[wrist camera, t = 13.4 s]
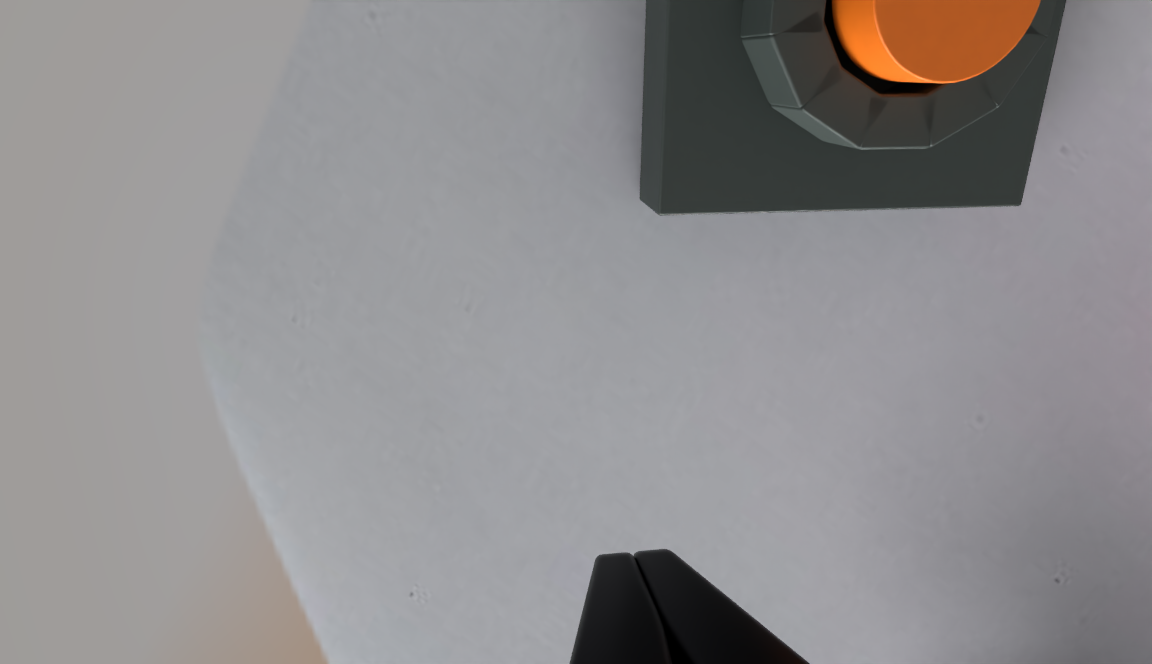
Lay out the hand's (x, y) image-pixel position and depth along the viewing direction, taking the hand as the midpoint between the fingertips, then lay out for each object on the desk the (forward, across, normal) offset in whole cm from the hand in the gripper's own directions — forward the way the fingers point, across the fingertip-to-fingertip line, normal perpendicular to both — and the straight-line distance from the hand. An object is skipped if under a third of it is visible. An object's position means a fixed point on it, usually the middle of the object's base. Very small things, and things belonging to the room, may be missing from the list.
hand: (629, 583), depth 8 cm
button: (+9, -8, -7) cm, 14 cm away
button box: (+13, -8, -7) cm, 17 cm away
